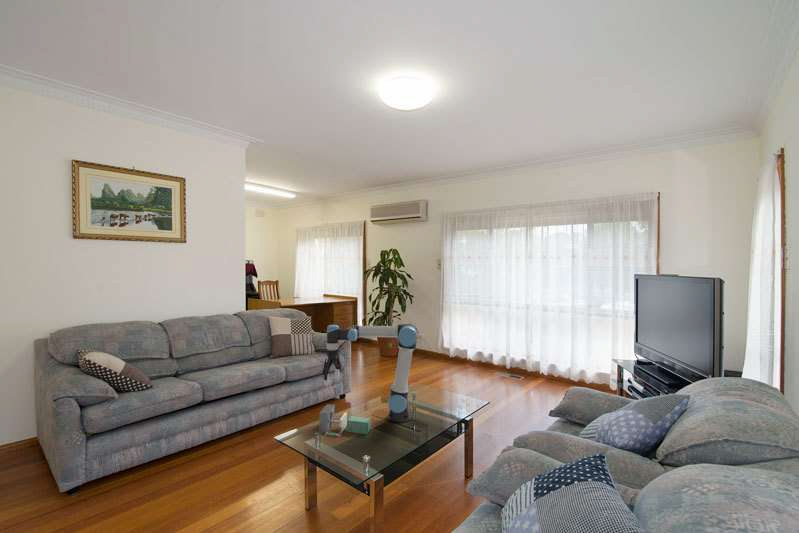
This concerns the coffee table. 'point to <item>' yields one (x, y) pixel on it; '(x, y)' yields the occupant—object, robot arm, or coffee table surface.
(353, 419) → the box
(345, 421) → the plunger
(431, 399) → the coffee table surface
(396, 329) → the robot arm
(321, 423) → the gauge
